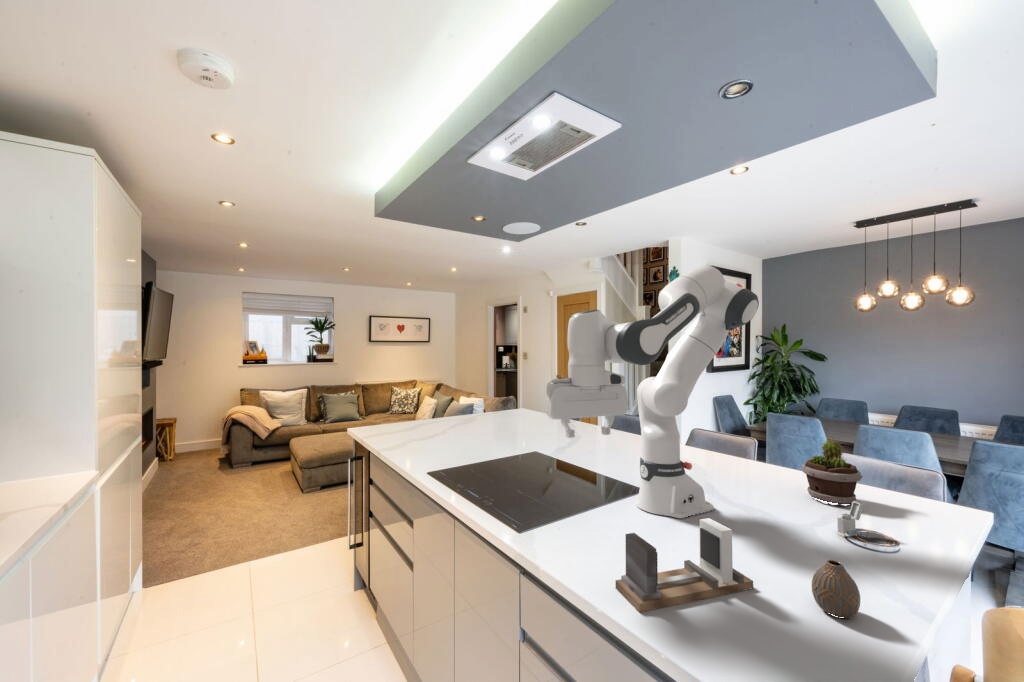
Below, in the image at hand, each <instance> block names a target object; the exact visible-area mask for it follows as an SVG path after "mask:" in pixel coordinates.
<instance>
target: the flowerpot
mask: <svg viewBox="0 0 1024 682" xmlns="http://www.w3.org/2000/svg"><path fill="white" fill-rule="evenodd" d="M834 439H835V437H834V438H832V437H830V438H828V439H827V440H824V442H823V443H821V452H820V455H814V454H812V455H811V456H812V458H810V459H807V460H806V461H805V462H804V463H803V464H802V465H801V469H802V472H803V473H804V474H805V475H806V480H807V483H808V486H807V491H808V494H809V495H810V497H811V498H812V497H814V498H817V499H820V500H823V501H827V502H832V503H838V504H839V505H840V504H851V503H853V501H854V502H856V501H857V496H856V494H855V490H856V488H857V482H860V481H862V478H863V475H862V474H861V472H860V471H859V470H858V467H857V466H856V465H853V464H851V463H848V462H846V459H844V458H843V456H844V454H845V453H844V451H843V450H844V448H843V446H842V445H841V444H839V443H838V442H837V441H836V440H837V439H835V440H834ZM851 505H852V504H851Z"/></svg>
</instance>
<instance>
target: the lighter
mask: <svg viewBox="0 0 1024 682" xmlns="http://www.w3.org/2000/svg"><path fill="white" fill-rule="evenodd" d="M863 508H864V504H862V503H860V502H857V501H853V503H852V504H851V505H850V509H849V512H848V513H846V512H845V513H842V514H841V517H837V520H836V521H837V533H838V532H840V533H843V534H845V533H846V532H847V531H851V530H856V529H857V528H856V521H860V518H861V515H862V512H863Z"/></svg>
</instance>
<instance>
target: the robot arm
mask: <svg viewBox="0 0 1024 682" xmlns="http://www.w3.org/2000/svg"><path fill="white" fill-rule="evenodd" d="M657 299H658V300H657V301H658V302H657V303H658V306H659V310H660V311H659V312H658V313H657V314H655V315H653V317H650V318H648V319H640V320H634V321H629V322H625V323H624V322H623V323H618V322H616V321H614V320H612V319H610V318H609V317H607V316H606V315H604V314H603V313H602V312H601V310H600V309H590V310H584V311H580V312H576V313H574V314H572V315H571V316H570V317H569V320H568V324H567V325H568V326H567V337H566V338H567V351H568V354H569V356H568V357H569V358H568V363H567V372H568V373H567V374H568V375H567V376H568V378H567V377H566V378H552V380H550V381H549V382H548V383H547V384H546V395H547V398H546V406H545V407H546V408H545V409H546V411H545V413H546V415H547V416H548V418H550V419H551V420H560V423H561V425H562V427H563V428H564V430H565V437H566V439H572V438H573V439H574V438H575V437H576V435H575V429H572V428H571V427H570V425H569V424H570V423H571V419H579V418H580V419H581V418H583V419H584V418H596V417H599V418H600V417H604V419H605V420H606V421H605V424H604V426H600V429H601V435H603V436H607V435H608V436H610V435H611V427H612V426H613V424H614V422H615V416H624V415H626V414H627V413H628V411H629V400H628V398H629V397H628V391H627V389H626V387H625V386H624V385H625V383H626V378H625V376H624V375H623V374H620V373H617V372H616V373H615V372H612V371H609V370H607V369H606V362H607V363H612V364H632V365H637V366H647V365H650V364H652V363H653V362H655V361H656V360H657V359H658V358H659V357H660V355H661V354H662V352H663V350H664V348H665V347H666V345H667V344H668V343H669V342H670V340H672V338H674V337H675V336H676V335H677V334H678V333H679V332H681V330H683V329H684V328H685V327H686V326H688V327H687V328H686V329H685V330H684V331H683V333H682V334H681V336H680V337H679V338H678V340H677V341H676V342H675V344H674V345H673V346H672V347H671V349H670V350H669V352H668V353H667V355H666V357H665V360H664V362H663V363H662V365H661V368H660V370H659V372H658V373H657V375H656V376H650V377H647V378H645V379H643V380H642V381H641V382H640V383H639V384H638V386H637V389H636V397H637V406H638V407H637V409H638V417H639V424H640V425H639V426H640V437H641V438H640V439H641V445H640V446H641V447H640V449H641V456H640V459H639V473H640V484H639V491H638V495H637V500H636V502H635V505H636V506H637V507H638V508H639V509H640V510H642V511H644V512H648V513H651V514H655V515H661V516H665V517H666V516H667V517H672V518H677V519H686V518H689V517H688V516H690V517H692V516H691V515H693V516H696V515H695V514H697V515H699V513H701V514H703V512H704V513H707V511H708V512H711V511H710V510H712V511H714V510H715V507H714V505H713V503H711V502H709V501H708V500H707V499H706V497H705V496H706V495H705V491H704V488H703V487H702V485H701V484H700V483H699V482H697V481H696V480H694V479H693V478H692V477H691V476H690V475H689V474H688V473H686V470H688V471H691V470H692V469H693V465H692V463H690V462H688V461H684V462H683V461H682V460H681V436H680V435H681V434H680V432H679V428H678V424H677V419H676V416H678V415H680V414H682V413H684V411H685V410H686V409H687V407H688V402H689V398H690V396H691V395H692V392H693V390H694V389H695V388H694V387H695V386H696V384H697V382H698V380H699V378H700V376H701V375H702V374H703V372H704V371H705V370H706V368H707V367H708V366H709V365H710V363H711V361H712V360H713V359H714V357H715V356H716V354H717V353H718V352H719V351H720V349H721V347H722V346H723V344H724V342H725V341H726V339H727V336H728V335H729V332H730V331H733V330H736V328H737V329H738V328H741V327H743V326H744V325H747V324H748V323H750V321H751V320H752V319H753V318H754V316H755V315H756V314H757V311H758V309H759V303H760V301H759V296H758V295H757V294H756V293H754V291H752V290H750V289H748V288H744V287H742V286H739V285H737V284H735V283H732V282H731V281H727V280H725V277H724V274H723V273H722V272H721V271H720V270H719V269H718V268H716V267H714V266H712V265H702V266H698V267H695V268H693V269H691V270H689V271H686V272H684V273H683V274H681V275H679V276H678V277H676V278H674V279H673V280H672V281H670V282H669V283H668V284H666V285H665V286H664V287H663V288H662V289H661V290H660V291H659V293H658V297H657ZM699 314H700V315H699ZM698 315H699V316H698ZM697 316H698V317H697ZM696 317H697V318H696ZM694 319H695V320H694ZM693 320H694V321H693ZM690 322H691V324H690ZM689 324H690V325H689ZM685 469H686V470H685ZM713 509H714V510H713ZM685 517H686V518H685Z"/></svg>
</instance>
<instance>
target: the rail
mask: <svg viewBox="0 0 1024 682" xmlns="http://www.w3.org/2000/svg"><path fill="white" fill-rule="evenodd" d="M683 566H684V568H677V569H671V570H666V571H665V570H664V571H660V572H658V552H657V548H656V547H655V546H654V545H652V544H650V543H649V542H647V540H645V539H644V538H643V537H641V536H640V535H638V534H637V533H635V532H631V533H625V574H623V575H621V577H620V579H615V589H616V590H617V591H618V592H619V593H620V594H621V595H622V596H623V598H625V599H626V601H628V602H629V604H630V605H631V606H633V608H634V607H635V608H636V609H637V610H636V611H637V612H638V613H644V612H648V611H653V610H657V609H663V608H666V607H667V608H668V607H672V606H677V605H682V604H687V603H692V602H697V601H701V600H706V599H710V598H715V596H716V597H720V595H721V596H725V595H724V594H726V595H729V594H728V593H730V594H734V593H733V592H735V593H739V592H738V591H740V592H743V591H742V590H745V589H750V588H753V589H754V580H753V579H751V578H749V577H747V576H746V575H745V574H744V573H741V572H739V571H738V570H737V569H735V568H733V581H731V582H726V583H721V582H720V581H718V580H717V579H716V578H715V577H713V576H712V575H710V574H709V573H707V572H706V571H704V570H703V569H701V568H700V564H698V565H697V564H696V563H694V562H693V561H691V560H690V559H687V560H683ZM750 590H751V589H750ZM745 591H746V590H745Z"/></svg>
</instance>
